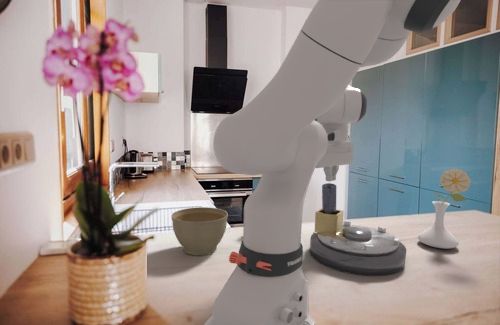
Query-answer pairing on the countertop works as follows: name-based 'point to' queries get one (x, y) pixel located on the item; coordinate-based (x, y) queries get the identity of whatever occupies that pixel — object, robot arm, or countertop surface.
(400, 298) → the countertop surface
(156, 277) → the countertop surface
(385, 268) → the housing
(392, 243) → the grey round disc
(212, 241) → the planter bowl
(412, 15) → the robot arm
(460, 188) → the flower in vase
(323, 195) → the pin
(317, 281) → the countertop surface
